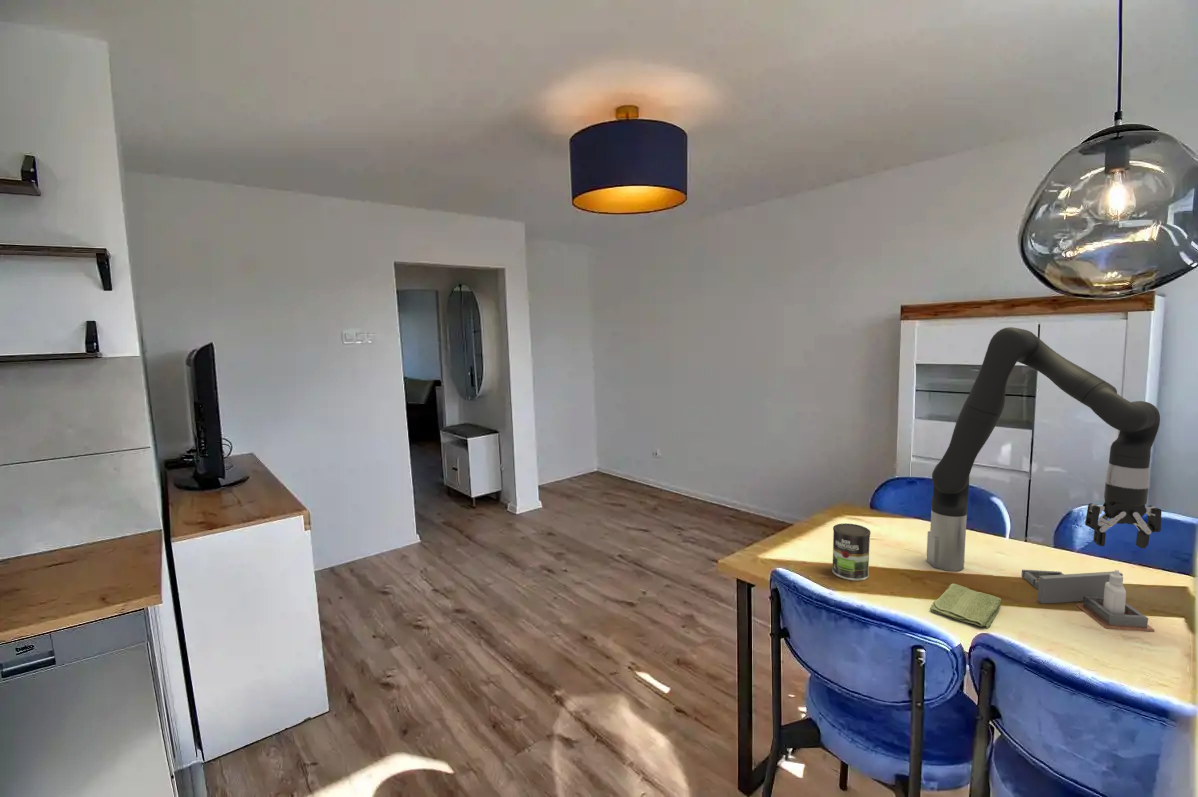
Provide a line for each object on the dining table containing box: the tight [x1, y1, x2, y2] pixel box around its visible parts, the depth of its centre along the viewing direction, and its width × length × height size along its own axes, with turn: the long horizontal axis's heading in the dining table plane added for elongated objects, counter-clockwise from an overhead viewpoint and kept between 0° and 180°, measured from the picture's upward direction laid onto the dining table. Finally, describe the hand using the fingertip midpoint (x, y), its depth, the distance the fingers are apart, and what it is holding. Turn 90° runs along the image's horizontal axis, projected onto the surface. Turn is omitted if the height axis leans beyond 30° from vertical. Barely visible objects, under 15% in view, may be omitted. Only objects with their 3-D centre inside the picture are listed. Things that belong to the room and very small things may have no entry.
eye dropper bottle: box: [1103, 569, 1127, 614], centre depth 135 cm, size 4×6×12 cm
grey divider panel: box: [1037, 570, 1124, 604], centre depth 144 cm, size 22×2×7 cm, turn 93°
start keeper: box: [1021, 569, 1064, 590], centre depth 154 cm, size 10×8×2 cm
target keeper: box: [1076, 596, 1155, 632], centre depth 135 cm, size 10×11×3 cm
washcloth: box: [929, 583, 1002, 629], centre depth 142 cm, size 13×18×3 cm
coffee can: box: [831, 523, 871, 582], centre depth 164 cm, size 10×10×14 cm
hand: (1120, 546), depth 133 cm, fingers open, 8 cm apart
